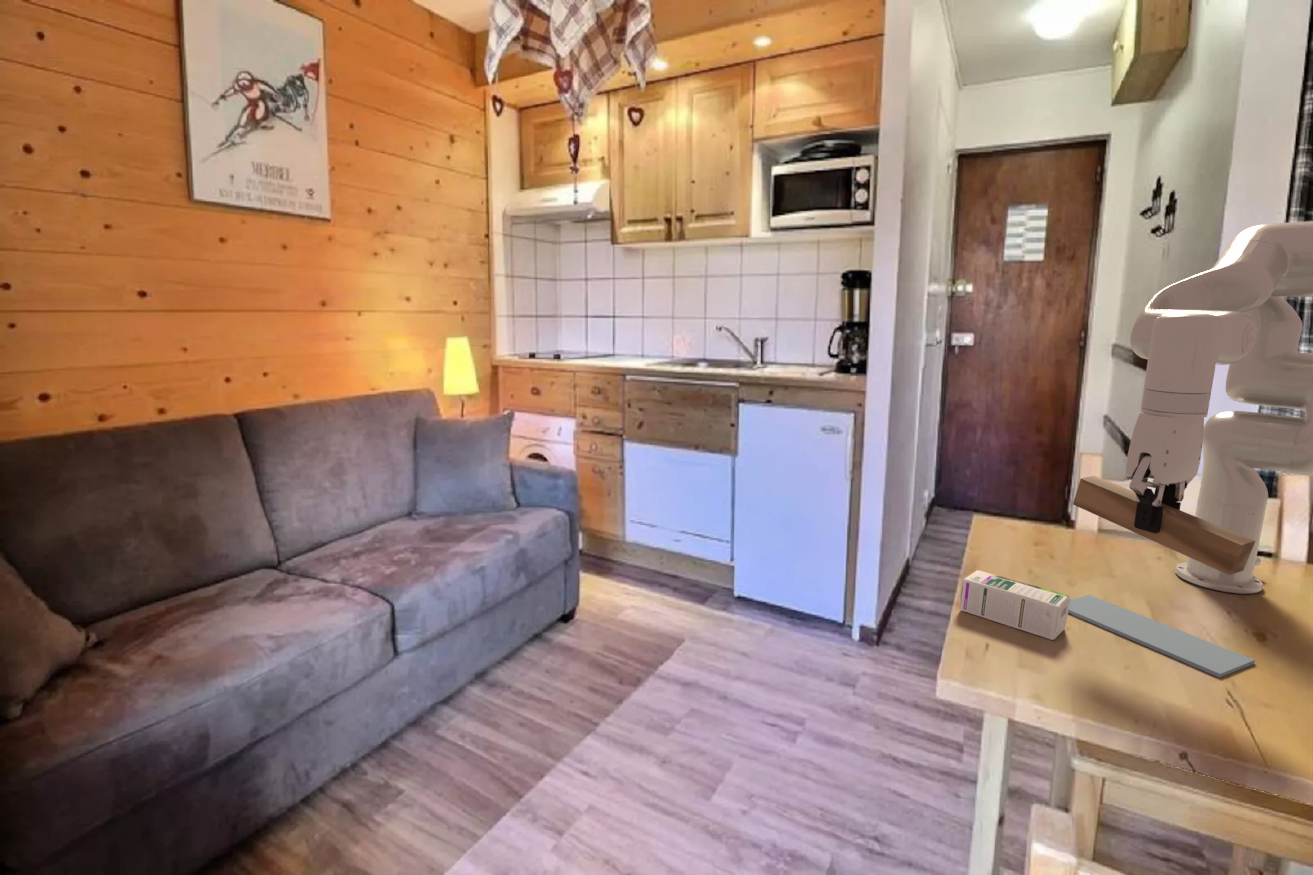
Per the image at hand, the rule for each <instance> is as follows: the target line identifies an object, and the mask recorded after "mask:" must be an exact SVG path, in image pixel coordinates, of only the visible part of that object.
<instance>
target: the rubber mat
mask: <svg viewBox="0 0 1313 875" xmlns="http://www.w3.org/2000/svg"><path fill="white" fill-rule="evenodd" d="M1069 614H1070V615H1072V616H1074V617H1076V618H1078V619H1081V620H1082V621H1083V620H1084V621H1086V622H1089V623H1091V624H1093V625H1095V626H1097V627H1100V628H1102V629H1105V630H1106V631H1110V632H1111V633H1114V634H1117V635H1119V636H1121V637H1123V638H1125V639H1128V640H1130V641H1133V642H1135V643H1137V644H1139V645H1141V646H1143V647H1146V648H1149V649H1152V650H1153V651H1155V652H1158V653H1161V654H1163V655H1165V656H1166V657H1167V656H1168V657H1171V658H1172V659H1174V660H1177V661H1179V662H1182V663H1183V664H1186V665H1188V666H1191V667H1193V668H1194V669H1198V670H1200V671H1203V672H1205V673H1206V674H1209V675H1212V676H1214V677H1217V678H1218V679H1219V678H1222V677H1226V676H1227V675H1230V674H1232V673H1235V672H1237V671H1240V670H1242V669H1245V668H1247V667H1251V666H1253V665H1255V663H1256V659H1254V658H1252V657H1249V656H1247V655H1244V654H1242V653H1239V652H1236V651H1235V650H1232V649H1229V648H1226V647H1223V646H1222V645H1218V644H1216V643H1213V642H1212V641H1211V642H1210V641H1209V640H1206V639H1203V638H1201V637H1199V636H1196V635H1193V634H1190V633H1188V632H1185V631H1183V630H1180V629H1178V628H1175V627H1172V626H1170V625H1168V624H1165V623H1163V622H1160V621H1157V620H1154V619H1153V618H1150V617H1147V616H1144V615H1143V614H1140V613H1136V612H1135V611H1131V610H1130V609H1128V608H1125V607H1122V606H1119V605H1117V604H1115V603H1112V602H1109V601H1106V600H1104V599H1102V598H1098V597H1097V596H1094V595H1091V594H1087V595H1083V596H1080V597H1075V598H1071V599H1070V604H1069V610H1068V615H1069Z"/></svg>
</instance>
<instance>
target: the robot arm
mask: <svg viewBox="0 0 1313 875" xmlns="http://www.w3.org/2000/svg"><path fill="white" fill-rule="evenodd" d="M1284 297H1287V298H1288V297H1293V298H1294V297H1299V298H1300V297H1304V298H1308V297H1309V298H1311V297H1312V298H1313V220H1312V221H1295V222H1294V221H1293V222H1277V223H1265V224H1258V225H1254V226H1251V227H1248V228H1246V229H1244V230H1242V231H1241V232H1239V233H1238V234H1236V235H1235V237H1234V238H1233V239H1232V240H1231V241H1230V243H1229V244H1228V245H1227V246H1226V248H1225V249H1224V251H1223V253H1222V254H1221V255H1220V257H1219V258H1218V259H1217V261H1216V262H1215V263H1214V264H1213V266H1212V267H1211V268H1210V269H1209V270H1205V271H1203V272H1200V273H1198V274H1194V275H1192V276H1190V277H1187V278H1185V279H1182V280H1180V281H1177V282H1175V283H1173V284H1171V285H1168V286H1166V287H1165V288H1163V289H1161V290H1159V291H1158V292H1157V293H1155V294H1154V295H1153V296H1152V297H1151V299H1150V300H1149V301H1148V302H1147V304H1146V305H1144V307H1143V308H1142V310H1141V311H1140V313H1139V314H1138V315H1137V318H1136V319H1135V321H1134V323H1133V325H1132V328H1131V332H1130V339H1129V340H1130V341H1129V342H1130V347H1131V349H1132V351H1133V352H1134V354H1135V355H1136V356H1138V357H1139V358H1141V359H1145V360H1147V364H1146V369H1145V370H1146V371H1145V377H1144V378H1145V379H1144V383H1143V384H1144V385H1143V391H1142V392H1143V393H1142V399H1141V406H1140V412H1139V414H1138V416H1137V419H1136V422H1135V424H1134V428H1133V431H1132V435H1131V438H1130V441H1129V442H1130V443H1129V446H1128V447H1129V448H1128V452H1127V458H1126V462H1125V468H1124V477H1125V478H1126V479H1128V480H1131V481H1130V482H1129V490H1131V491H1133V492H1135V494H1136V502H1137V508H1136V515H1135V522H1134V527H1135V528H1138V529H1141V530H1144V531H1148V532H1151V533H1159V532H1160V527H1161V520H1162V514H1163V508H1164V507H1163V506H1160V504H1161V503H1163V504H1165V505H1168V506H1170V507H1173V508H1175V509H1178V510H1180V511H1181V505H1182V501H1183V500H1184V497H1185V490H1186V489H1187V488H1188V487H1187V486H1188V485H1189V484H1190V483H1191V481H1193V479H1194V478H1195V477H1196V476H1197V475H1198V472H1199V468H1200V463H1201V457H1202V469H1201V470H1202V471H1201V478H1200V486H1199V491H1198V497H1197V504H1196V508H1195V509H1196V510H1195V514H1194V516H1195V517H1198V518H1200V519H1203V520H1205V521H1208V522H1210V523H1213V524H1215V525H1218V526H1220V527H1222V528H1225V529H1227V530H1230V531H1232V532H1235V533H1237V534H1240V535H1242V536H1245V537H1247V538H1250V539H1252V540H1255V544H1254V546H1253V549H1252V551H1251V553H1250V556H1249V558H1248V561H1247V563H1246V565H1245V568H1244V570H1243V571H1241V572H1238V573H1235V574H1231V575H1228V574H1225V573H1223V572H1221V571H1219V570H1217V569H1214V568H1212V567H1210V566H1208V565H1205V564H1203V563H1201V562H1199V561H1197V560H1194V559H1192V558H1190V557H1188V556H1187V560H1186V561H1184V562H1180V563H1177V564H1176V565H1175V570H1174V572H1175V574H1176V575H1177V576H1178V577H1180V578H1181V579H1183V580H1184V581H1186V582H1189V583H1190V584H1194V585H1196V586H1200V587H1203V588H1206V589H1210V590H1213V591H1219V592H1224V593H1230V594H1231V593H1232V594H1241V595H1242V594H1245V595H1249V594H1257V593H1259V592H1261V591H1262V590H1263V587H1264V586H1263V585H1264V584H1263V582H1262V581H1261V580H1260V578H1258V577H1256V576H1254V572H1255V567H1257V566H1259V565H1260V564H1261V561H1262V560H1261V559H1260V557H1259V556H1257V555H1258V551H1259V547H1260V540H1261V535H1262V530H1263V524H1264V520H1265V515H1266V509H1267V505H1268V500H1269V499H1268V498H1269V492H1268V488H1267V485H1266V484H1265V482H1264V481H1263V479H1262V478H1261V476H1260V475H1259V473H1258V472H1257V470H1256V469H1259V470H1263V469H1264V470H1269V471H1275V472H1281V473H1289V474H1297V475H1301V476H1313V353H1310V352H1309V353H1307V352H1299V348H1298V347H1299V345H1300V344H1299V343H1300V341H1301V340H1300V339H1301V335H1302V331H1303V321H1302V320H1301V317H1300V316H1299V315H1298V313H1297V311H1296V310H1295V309H1294V308H1293V306H1291V304H1289V302H1287V300H1286V299H1284ZM1216 365H1218V366H1219V365H1221V366H1222V365H1223V366H1225V365H1228V369H1227V375H1226V380H1225V392H1226V395H1227V396H1228V398H1229V399H1231V400H1232V401H1234V402H1238V403H1242V404H1247V405H1255V406H1263V407H1264V406H1265V407H1272V408H1273V407H1274V408H1283V409H1292V410H1300V411H1303V412H1304V413H1305V417H1299V416H1288V415H1278V414H1275V413H1274V414H1273V413H1263V412H1253V411H1244V410H1229V411H1228V410H1227V411H1221V412H1218V413H1215V414H1213V415H1212V416H1210V417H1209V418H1208V420H1206V422H1205V418H1207V417H1208V412H1209V406H1210V400H1211V394H1212V390H1213V384H1214V377H1215V372H1216ZM1204 422H1205V423H1204ZM1149 479H1152V481H1149ZM1148 487H1149V488H1148ZM1152 488H1153V489H1154V492H1153V490H1152Z"/></svg>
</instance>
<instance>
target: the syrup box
mask: <svg viewBox="0 0 1313 875" xmlns="http://www.w3.org/2000/svg"><path fill="white" fill-rule="evenodd" d="M961 584H962V585H961V588H960V598H959V599H960V600H959V601H960V604H959V605H960V606H959V608H960V611H961V612H965V613H967V614H971V615H974V616H977V617H981V618H983V619H986V620H990V621H991V622H996V623H999V624H1002V625H1004V626H1007V627H1011V628H1015V629H1016V630H1021V631H1023V632H1027V633H1029V634H1032V635H1035V636H1038V637H1042V638H1045V639H1048V640H1051V641H1054V640H1056V639H1057V638H1058V636H1060V634H1062V632H1063V631H1064V630H1065V629H1066V625H1067V621H1068V620H1067V619H1068V615H1069V613H1068V610H1069V604H1070V600H1071V596H1070V595H1069V594H1065V593H1061V592H1058V591H1054V590H1050V589H1047V588H1045V587H1044V588H1043V587H1041V586H1040V587H1039V586H1037V585H1033V584H1028V583H1026V582H1022V581H1018V580H1015V579H1011V578H1008V577H1004V576H1000V575H998V574H993V573H991V572H990V573H989V572H988V571H987V572H986V571H983V570H979V569H977V570H975V571H974V572H972V573H971V574H969V575H968V576H967V577H965V578H963V580H962V583H961Z"/></svg>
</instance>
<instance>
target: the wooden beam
mask: <svg viewBox="0 0 1313 875" xmlns="http://www.w3.org/2000/svg"><path fill="white" fill-rule="evenodd" d="M1074 496H1075V497H1074V500H1073V503H1072V505H1073V506H1076V507H1077V508H1080V509H1082V510H1085V511H1087V512H1089V513H1090V514H1093V515H1095V516H1097V517H1099V518H1101V519H1104V520H1107V521H1109V522H1111V523H1113V524H1116V525H1118V526H1119V527H1122V528H1124V529H1127V530H1129V531H1130V532H1133V533H1135V534H1138V535H1139V536H1141V537H1144V538H1146V539H1148V540H1150V541H1153V542H1155V543H1158V545H1161V546H1163V547H1165V548H1168V549H1170V550H1172V551H1175V552H1177V553H1179V554H1181V555H1184V556H1186V557H1187V558H1188V557H1190V558H1192V559H1194V560H1197V561H1199V562H1201V563H1203V564H1205V565H1208V566H1210V567H1212V568H1214V569H1217V570H1219V571H1221V572H1223V573H1225V574H1228V575H1231V574H1235V573H1238V572H1241V571H1243V570H1244V568H1245V565H1246V563H1247V561H1248V558H1249V556H1250V553H1251V551H1252V549H1253V546H1254V544H1255V540H1252V539H1250V538H1247V537H1245V536H1242V535H1240V534H1237V533H1235V532H1232V531H1230V530H1227V529H1225V528H1222V527H1220V526H1218V525H1215V524H1213V523H1210V522H1208V521H1205V520H1203V519H1200V518H1198V517H1195V515H1193V514H1190V513H1187V512H1186V511H1182V510H1181V509H1180V510H1178V509H1175V508H1173V507H1170V506H1168V505H1165V504H1163V503H1161V504H1160V506H1163V507H1164V508H1163V514H1162V520H1161V527H1160V532H1159V533H1151V532H1148V531H1144V530H1141V529H1138V528H1135V527H1134V522H1135V515H1136V508H1137V502H1136V494H1135V492H1134V491H1133V490H1131V489H1128V488H1126V487H1123V486H1121V485H1119V484H1118V485H1117V484H1116V483H1113V482H1111V481H1109V480H1106V479H1103V478H1101V477H1099V476H1096V475H1091V476H1087V477H1081V478H1080V480H1079V483H1078V485H1077V490H1076V493H1075V495H1074Z"/></svg>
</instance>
